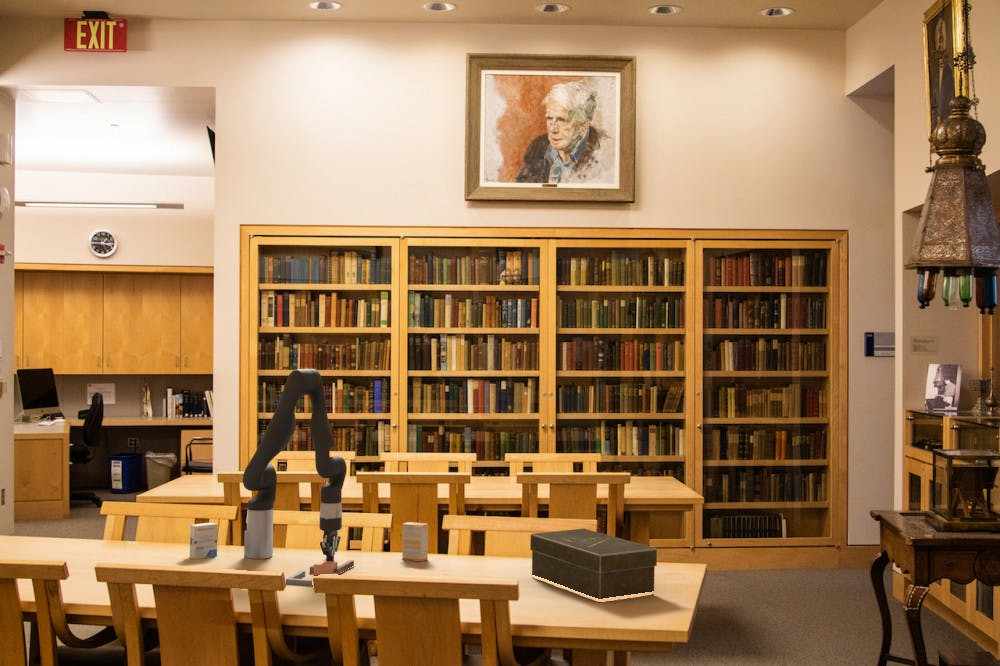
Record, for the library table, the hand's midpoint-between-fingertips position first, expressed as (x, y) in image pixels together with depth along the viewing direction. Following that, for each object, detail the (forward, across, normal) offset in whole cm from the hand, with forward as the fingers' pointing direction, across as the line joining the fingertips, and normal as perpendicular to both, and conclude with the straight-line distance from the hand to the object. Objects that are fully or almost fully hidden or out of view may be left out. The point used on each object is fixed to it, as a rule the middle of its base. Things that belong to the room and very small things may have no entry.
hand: (329, 566), depth 347 cm
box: (+2, -4, +89) cm, 89 cm away
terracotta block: (+2, +5, 0) cm, 5 cm away
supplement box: (+2, -26, +22) cm, 34 cm away
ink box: (+2, -8, -52) cm, 53 cm away
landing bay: (+2, +14, 0) cm, 15 cm away
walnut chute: (+2, -2, 0) cm, 2 cm away
